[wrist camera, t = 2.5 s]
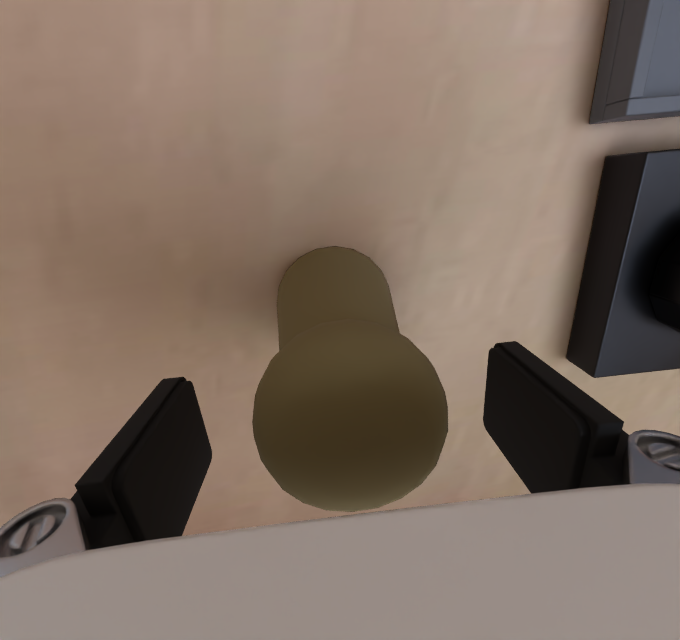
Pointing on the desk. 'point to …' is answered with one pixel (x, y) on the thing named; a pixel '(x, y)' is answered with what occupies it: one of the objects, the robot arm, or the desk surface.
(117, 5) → the desk surface
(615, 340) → the control block
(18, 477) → the desk surface
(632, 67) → the tray
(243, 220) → the desk surface
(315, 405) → the olive rounded lobed piece
